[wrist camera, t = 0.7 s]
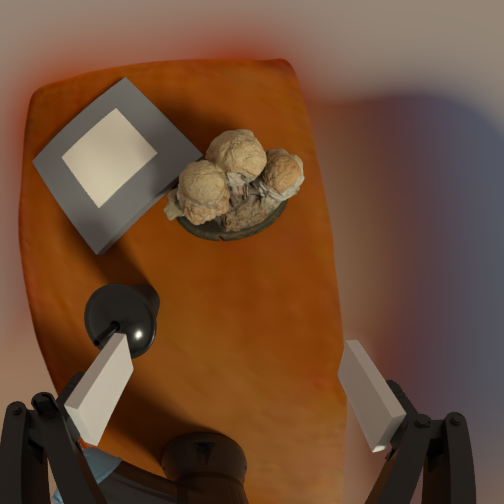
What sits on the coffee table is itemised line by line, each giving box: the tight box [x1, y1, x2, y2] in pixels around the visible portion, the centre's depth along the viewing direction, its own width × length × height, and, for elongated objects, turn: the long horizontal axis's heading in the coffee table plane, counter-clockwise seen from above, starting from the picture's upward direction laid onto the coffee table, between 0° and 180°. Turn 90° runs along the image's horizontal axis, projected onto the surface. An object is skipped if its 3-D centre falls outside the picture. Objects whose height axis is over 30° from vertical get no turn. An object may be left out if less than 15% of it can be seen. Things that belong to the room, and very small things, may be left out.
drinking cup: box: [84, 283, 160, 359], centre depth 27 cm, size 8×8×20 cm
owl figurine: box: [164, 129, 304, 241], centre depth 31 cm, size 18×12×17 cm, turn 108°
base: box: [32, 77, 203, 255], centre depth 34 cm, size 20×20×3 cm
